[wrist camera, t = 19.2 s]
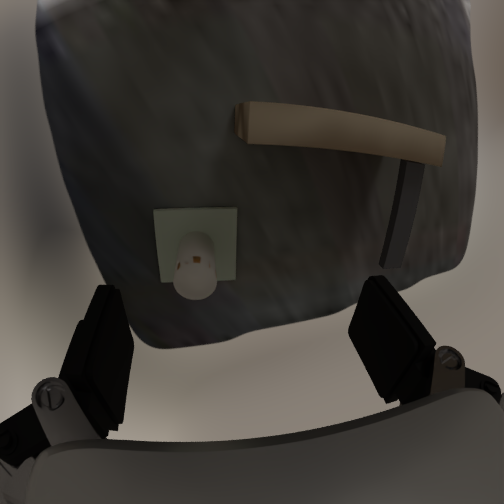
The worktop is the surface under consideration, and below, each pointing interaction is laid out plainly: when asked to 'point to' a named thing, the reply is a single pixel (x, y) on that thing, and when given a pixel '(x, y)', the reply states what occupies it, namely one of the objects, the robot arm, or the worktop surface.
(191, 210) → the mat
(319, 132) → the stand
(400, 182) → the strap
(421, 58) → the worktop surface
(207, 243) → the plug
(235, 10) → the worktop surface
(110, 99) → the worktop surface
